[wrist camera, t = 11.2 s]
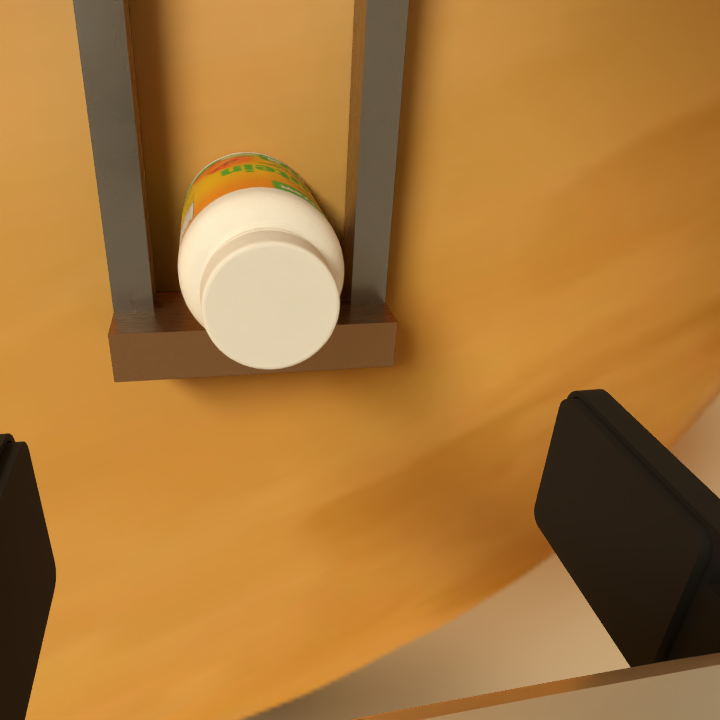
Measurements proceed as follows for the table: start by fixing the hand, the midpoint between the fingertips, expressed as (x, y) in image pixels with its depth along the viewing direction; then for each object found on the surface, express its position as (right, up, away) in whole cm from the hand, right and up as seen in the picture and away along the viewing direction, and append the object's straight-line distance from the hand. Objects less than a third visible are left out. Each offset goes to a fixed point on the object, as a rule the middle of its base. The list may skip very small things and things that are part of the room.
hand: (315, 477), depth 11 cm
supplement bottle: (-4, +8, +15) cm, 18 cm away
